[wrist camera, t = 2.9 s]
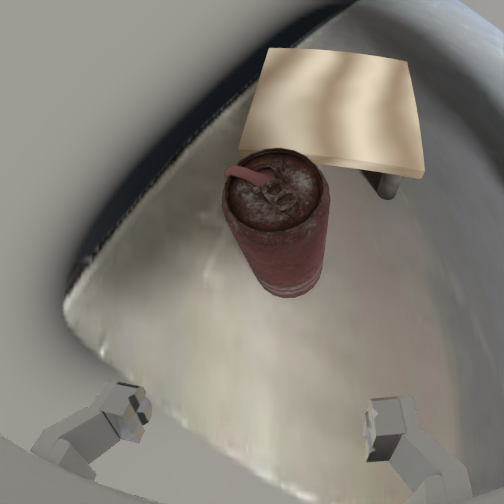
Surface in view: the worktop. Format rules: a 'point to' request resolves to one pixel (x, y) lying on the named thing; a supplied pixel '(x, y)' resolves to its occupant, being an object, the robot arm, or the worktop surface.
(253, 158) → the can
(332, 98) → the small table
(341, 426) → the worktop surface
